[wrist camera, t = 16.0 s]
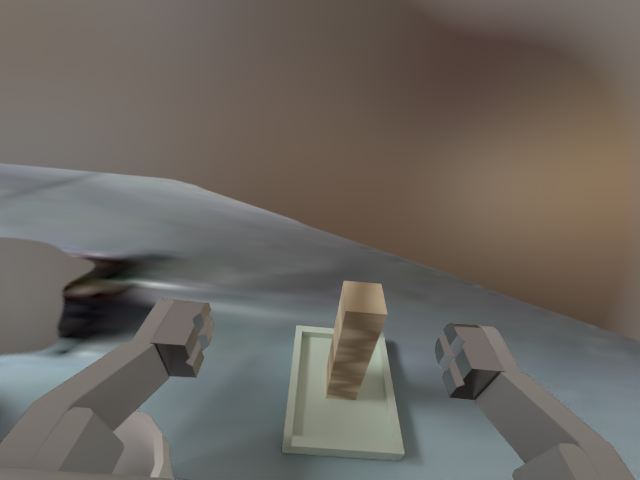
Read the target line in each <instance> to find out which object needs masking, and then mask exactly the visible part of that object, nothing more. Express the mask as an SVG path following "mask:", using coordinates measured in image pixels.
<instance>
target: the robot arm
mask: <svg viewBox="0 0 640 480" xmlns="http://www.w3.org/2000/svg"><path fill="white" fill-rule="evenodd" d="M210 311H211V308H210V305H209V303H202V302H193V301H184V300H175V299H164V298H162V299H160V300H159V301H158V302H157V303H156V304H155V306H154V308H153V309H152V311H151V312H150V314H149V315H148V317H147V318H146V320H145V321H144V323H143V324H142V326H141V327H140V329H139V330H138V332H137V333H136V335H135V337H134V338H133V340H132V341H131V342H125V343H123V344H122V345H120V346H119V347H117V348H116V349H114V350H113V351H111V352H109V353H108V354H106V355H105V356H103V357H102V358H100V359H99V360H97V361H96V362H94V363H93V364H91V365H90V366H88V367H87V368H85V369H84V370H82V371H80V372H79V373H77V374H76V375H74V376H73V377H71V378H70V379H68V380H67V381H65V382H64V383H62V384H61V385H59V386H58V387H56V388H54V389H53V390H51V391H50V392H48V393H47V394H45V395H44V396H42V397H41V398H39V399H38V400H36V401H35V402H33V404H32V405H31V406H30V407H29V408H28V410H27V411H26V412H25V413H24V415H23V416H22V417H21V418H20V419H19V421H18V422H17V423H16V424H15V426H14V427H13V428H12V429H11V431H10V432H9V433H8V434H7V435H6V437H5V438H4V439H3V440H2V442H1V443H0V480H185V479H171V478H156V477H141V476H126V475H112V473H113V471H114V468H115V466H116V464H117V462H118V460H119V458H120V456H121V454H122V452H123V450H124V445H123V442H122V441H121V440H120V439H119V438H118V437H117V436H116V435H115V434H114V433H113V431H114V430H116V429H117V428H118V427H119V426H120V425H121V424H122V423H123V422H124V421H125V420H126V419H127V418H128V417H129V416H130V415H131V414H132V413H133V412H134V411H135V410H136V409H137V408H138V407H140V406H141V405H142V404H143V403H144V402H145V401H146V400H147V399H148V398H149V397H150V396H151V395H152V394H153V393H154V392H155V391H156V390H157V389H158V388H159V387H160V386H161V385H162V384H164V383H165V382H166V381H167V380H168V379H169V376H177V377H197V374H198V372H199V369H200V367H201V364H202V362H203V359H204V356H203V353H202V351H203V350H204V349H205V348H207V347H208V346H209V344H210V341H211V339H212V334H213V330H214V322H213V318H212V317H211V316H210V315H209V313H210ZM443 330H444V332H445V334H444V335H442V336H440V337H439V338H438V340H437V342H436V347H435V353H436V359H437V362H438V365H439V366H440V367H441V368H442V369H443V370H444V371H445V372H444V374H443V377H442V378H443V381H444V384H445V387H446V390H447V393H448V396H449V397H452V398H461V399H470V400H475V401H474V402H475V403H476V404H477V405H478V407H479V408H480V409H481V410H482V412H483V413H484V414H485V415H486V416H487V418H488V419H489V420H490V421H491V422H492V424H493V425H494V426H495V427H496V429H497V430H498V431H499V432H500V433H501V435H502V436H503V437H504V438H505V439H506V441H507V442H508V443H509V444H510V446H511V447H512V448H513V449H514V450H515V452H516V453H517V454H518V455H519V456H520V458H521V459H522V460H523V461H524V462H525V464H524V465H523V466H521V467H519V468H518V469H516V470H514V472H513V474H512V476H513V479H514V480H635V478H634V477H633V475H632V474H631V472H630V471H629V469H628V468H627V466H626V465H625V464H624V462H623V461H622V459H621V458H620V456H619V455H618V453H617V452H616V450H615V449H614V447H613V446H612V445H611V444H610V443H608V442H607V441H606V440H605V439H604V438H602V437H601V436H600V435H599V434H598V433H597V432H595V431H594V430H593V429H592V428H591V427H589V426H588V425H587V424H586V423H585V422H583V421H582V420H581V419H580V418H579V417H577V416H576V415H575V414H574V413H573V412H571V411H570V410H569V409H568V408H567V407H565V406H564V405H563V404H562V403H561V402H560V401H558V400H557V399H556V398H555V397H554V396H552V395H551V394H550V393H549V392H548V391H546V390H545V389H544V388H543V387H542V386H540V385H539V384H538V383H537V382H536V381H534V380H533V379H532V378H531V377H530V376H529V375H527V374H522V372H521V370H520V369H519V367H518V365H517V363H516V362H515V360H514V358H513V356H512V355H511V353H510V351H509V349H508V348H507V346H506V344H505V342H504V341H503V339H502V337H501V335H500V334H499V332H498V330H497V329H496V328H494V327H489V326H477V325H468V324H453V323H449V324H447V325H446V326H445V328H444V329H443Z"/></svg>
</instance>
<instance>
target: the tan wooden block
mask: <svg viewBox="0 0 640 480" xmlns="http://www.w3.org/2000/svg"><path fill="white" fill-rule="evenodd" d="M386 317H387V310H386V305H385V300H384V295H383V290H382V285H381V284H375V283H363V282H352V281H344V283H343V288H342V293H341V298H340V303H339V308H338V313H337V318H336V323H335V328H334V332H333V337H332V342H331V347H330V352H329V357H328V362H327V367H326V398H333V399H346V400H356V397H357V395H358V392H359V389H360V387H361V384H362V381H363V379H364V376H365V373H366V371H367V368H368V365H369V363H370V360H371V357H372V354H373V352H374V349H375V346H376V344H377V341H378V338H379V336H380V333H381V330H382V328H383V325H384V322H385V320H386Z"/></svg>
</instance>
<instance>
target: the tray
mask: <svg viewBox="0 0 640 480" xmlns="http://www.w3.org/2000/svg"><path fill="white" fill-rule="evenodd" d="M333 332H334V329H333V328H321V327H309V326H297V325H296V334H295V342H294V350H293V359H292V367H291V375H290V384H289V392H288V400H287V409H286V417H285V426H284V434H283V442H282V453H293V454H307V455H321V456H335V457H349V458H363V459H377V460H391V461H399V460H400V459H401V458H402V457H403V455H404V454H405V453H404V447H403V442H402V436H401V430H400V424H399V419H398V413H397V407H396V401H395V396H394V390H393V384H392V378H391V373H390V367H389V361H388V355H387V350H386V344H385V338H384V333H380V336H379V338H378V341H377V344H376V346H375V349H374V352H373V354H372V357H371V360H370V363H369V365H368V368H367V371H366V373H365V376H364V379H363V381H362V384H361V387H360V389H359V392H358V395H357V397H356V400H346V399H333V398H326V367H327V362H328V357H329V352H330V347H331V342H332V337H333Z"/></svg>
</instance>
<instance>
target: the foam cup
mask: <svg viewBox="0 0 640 480" xmlns="http://www.w3.org/2000/svg"><path fill="white" fill-rule="evenodd" d="M113 433H114V434H115V435H116V436H117V437H118V438H119V439H120V440H121V441H122V442H123V445H124V450H123V452H122V454H121V456H120V458H119V460H118V462H117V464H116V466H115V468H114V471H113V473H112V475H126V476H141V477H156V478H171V479H174V477H173V472H172V468H171V463H170V453H169V443H168V441H167V440H166V438H165V437H164V435H163V434H162V432H161V431H160V429H159V428H158V427H157V425H156V424H155V423H154V421H153V420H152V418H151V417H150V416H149V415H148V414H145V413H142V412H138V411H134V412H133V413H132V414H131V415H130V416H129V417H128V418H127V419H126V420H125V421H124V422H123V423H122V424H121V425H120V426H119V427H118V428H117V429H116V430H114V431H113Z"/></svg>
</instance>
